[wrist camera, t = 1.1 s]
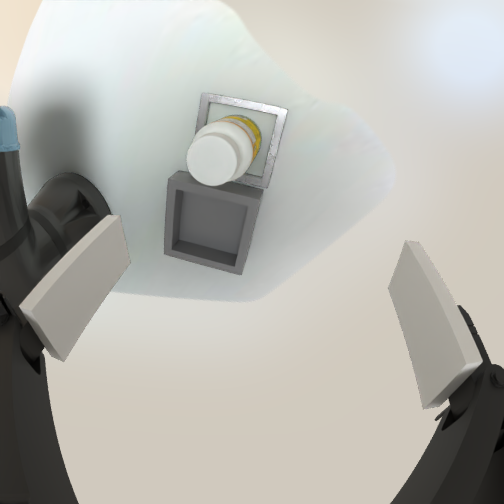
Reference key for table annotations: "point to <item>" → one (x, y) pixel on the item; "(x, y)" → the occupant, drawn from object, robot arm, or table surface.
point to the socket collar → (279, 111)
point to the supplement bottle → (223, 150)
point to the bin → (210, 222)
